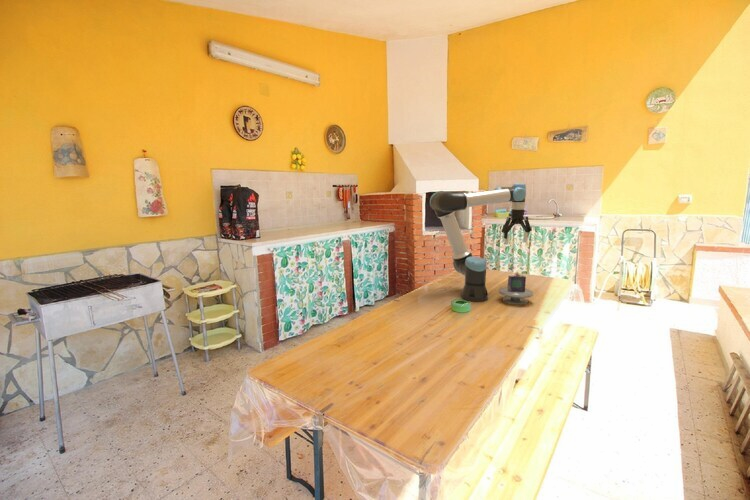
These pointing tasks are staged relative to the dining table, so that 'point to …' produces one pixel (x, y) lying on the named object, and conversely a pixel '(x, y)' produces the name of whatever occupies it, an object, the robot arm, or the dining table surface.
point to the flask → (516, 283)
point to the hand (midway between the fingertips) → (515, 243)
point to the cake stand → (515, 296)
